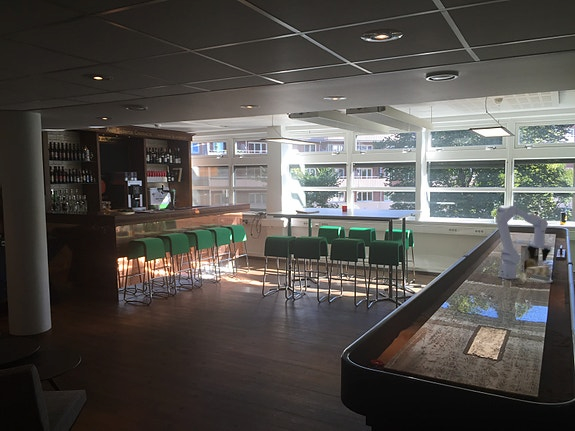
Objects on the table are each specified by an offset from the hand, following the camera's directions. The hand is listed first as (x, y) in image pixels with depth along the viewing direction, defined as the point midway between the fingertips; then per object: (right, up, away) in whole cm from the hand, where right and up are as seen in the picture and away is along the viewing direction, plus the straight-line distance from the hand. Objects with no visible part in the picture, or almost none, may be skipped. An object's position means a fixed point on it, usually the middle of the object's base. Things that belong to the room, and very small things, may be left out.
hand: (538, 259), depth 280 cm
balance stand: (-6, -11, -12) cm, 18 cm away
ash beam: (0, -11, +1) cm, 11 cm away
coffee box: (+5, -9, +20) cm, 22 cm away
